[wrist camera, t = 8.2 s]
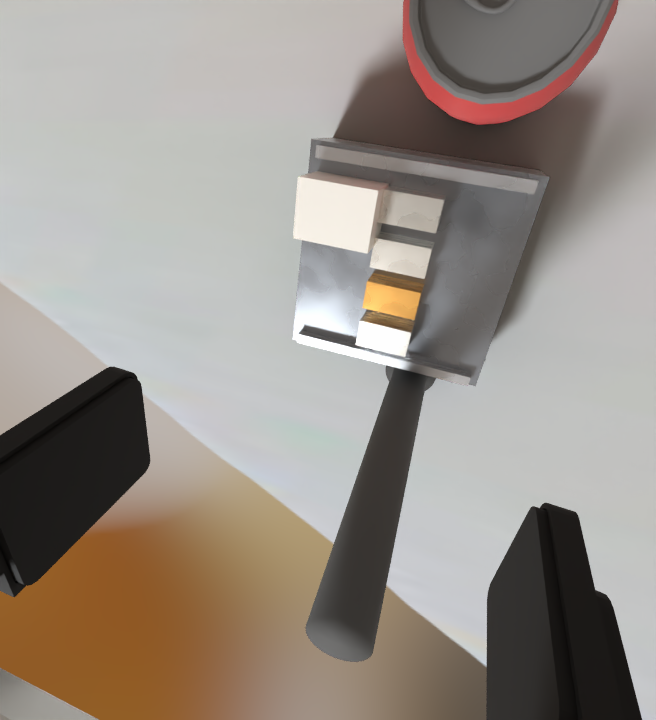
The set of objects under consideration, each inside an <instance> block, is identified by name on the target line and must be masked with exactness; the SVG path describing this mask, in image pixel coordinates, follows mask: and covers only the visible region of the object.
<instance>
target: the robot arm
mask: <svg viewBox="0 0 656 720" xmlns="http://www.w3.org/2000/svg"><path fill="white" fill-rule="evenodd" d="M149 464H150V453H149V445H148V437H147V428H146V421H145V412H144V403H143V395H142V387H141V383H140V382H139V381H138V379H137V376H136V375H135V374H134V373H132V372H129V371H126V370H123V369H120V368H116V367H108V368H106V369H105V370H103V371H101V372H100V373H98V374H97V375H95V376H94V377H92V378H90V379H89V380H87V381H86V382H84V383H82V384H81V385H79V386H78V387H76V388H74V389H73V390H71V391H70V392H68V393H67V394H65V395H63V396H62V397H60V398H59V399H57V400H55V401H54V402H52V403H51V404H49V405H48V406H46V407H44V408H43V409H41V410H40V411H38V412H37V413H35V414H33V415H32V416H30V417H29V418H27V419H25V420H24V421H22V422H21V423H19V424H18V425H16V426H14V427H13V428H11V429H10V430H8V431H6V432H5V433H3V434H2V435H0V591H2V592H4V593H6V594H8V595H10V596H12V597H15V596H16V595H17V594H18V593H19V592H20V591H21V590H22V589H23V588H24V587H25V586H26V585H27V586H28V585H32V584H33V583H35V582H36V581H38V579H40V578H41V577H42V576H43V575H44V574H45V573H46V572H47V571H48V570H49V569H50V568H51V567H52V566H53V565H54V564H55V563H56V562H57V561H58V560H59V559H60V558H61V557H62V556H63V555H64V554H65V553H66V552H67V551H68V550H69V548H71V547H72V546H73V545H74V544H75V543H76V542H77V541H78V540H79V539H80V538H81V537H82V536H83V535H84V534H85V532H87V530H89V528H91V527H92V526H93V525H94V524H95V522H97V521H98V519H100V517H102V516H103V515H104V514H105V513H106V512H107V511H108V510H109V509H110V508H111V506H113V505H114V503H116V501H117V500H118V499H119V498H120V497H121V496H122V495H123V494H124V493H125V492H126V491H127V490H128V489H129V488H130V487H131V486H132V485H133V484H134V483H135V482H136V481H137V480H138V479H139V478H140V477H141V476H142V475H143V474H144V473H145V472H146V470H147V469H148V467H149ZM0 720H98V719H96V718H94V717H93V716H91V715H89V714H87V713H85V712H83V711H81V710H79V709H77V708H76V707H74V706H72V705H70V704H68V703H66V702H64V701H62V700H60V699H58V698H57V697H55V696H53V695H51V694H49V693H47V692H45V691H43V690H41V689H39V688H38V687H36V686H33V685H32V684H30V683H28V682H26V681H24V680H22V679H20V678H18V677H16V676H14V675H13V674H11V673H9V672H7V671H5V670H3V669H1V668H0ZM487 720H642V718H641V714H640V710H639V706H638V702H637V698H636V694H635V691H634V687H633V683H632V679H631V675H630V671H629V667H628V663H627V659H626V655H625V651H624V648H623V644H622V640H621V636H620V632H619V628H618V624H617V620H616V616H615V612H614V609H613V606H612V604H611V601H610V599H609V598H608V597H607V595H606V594H603V593H601V592H599V591H596V590H595V587H594V583H593V578H592V574H591V570H590V565H589V561H588V556H587V552H586V548H585V543H584V539H583V534H582V530H581V526H580V521H579V517H578V515H577V513H576V512H574V511H571V510H568V509H564V508H561V507H558V506H555V505H552V504H549V503H544V504H542V506H541V507H540V508H537V507H534V506H533V507H531V508H530V510H529V512H528V514H527V515H526V517H525V519H524V521H523V523H522V525H521V527H520V529H519V531H518V532H517V534H516V536H515V538H514V540H513V542H512V544H511V546H510V548H509V549H508V551H507V553H506V555H505V557H504V559H503V561H502V563H501V565H500V566H499V568H498V570H497V572H496V574H495V576H494V578H493V580H492V582H491V584H490V587H489V591H488V597H487Z"/></svg>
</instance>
